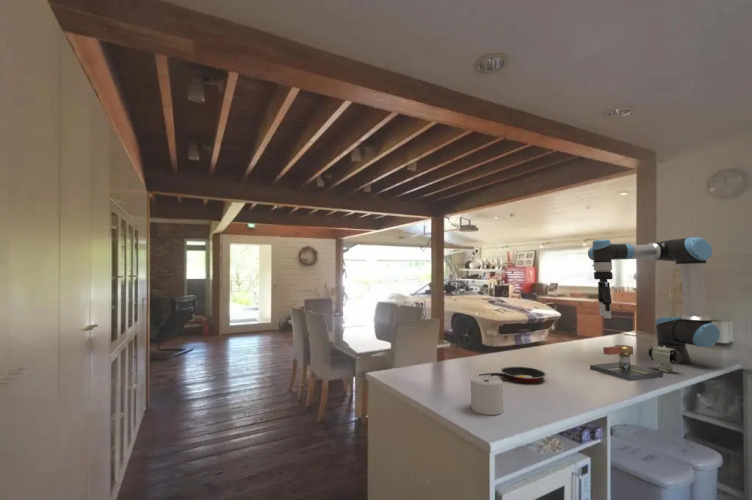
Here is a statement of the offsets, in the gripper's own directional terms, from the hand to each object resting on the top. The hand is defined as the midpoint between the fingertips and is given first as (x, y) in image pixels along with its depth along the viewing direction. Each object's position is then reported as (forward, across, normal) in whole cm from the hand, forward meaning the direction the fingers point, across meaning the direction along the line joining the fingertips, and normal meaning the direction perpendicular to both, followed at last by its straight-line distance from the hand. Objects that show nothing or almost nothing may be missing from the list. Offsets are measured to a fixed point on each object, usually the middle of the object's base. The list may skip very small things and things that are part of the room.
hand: (605, 316), depth 170 cm
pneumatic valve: (+26, -10, +25) cm, 37 cm away
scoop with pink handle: (+17, +2, +4) cm, 17 cm away
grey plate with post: (+26, 0, +7) cm, 27 cm away
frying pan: (+26, +32, -42) cm, 59 cm away
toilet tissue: (+26, +71, -49) cm, 90 cm away
